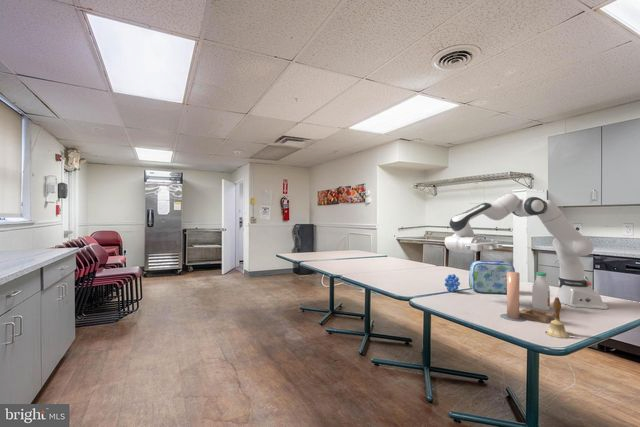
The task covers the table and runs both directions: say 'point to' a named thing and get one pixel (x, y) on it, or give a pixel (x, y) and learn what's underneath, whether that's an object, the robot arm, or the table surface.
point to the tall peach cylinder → (513, 295)
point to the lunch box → (489, 276)
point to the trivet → (513, 319)
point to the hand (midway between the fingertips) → (497, 247)
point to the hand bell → (557, 323)
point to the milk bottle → (541, 292)
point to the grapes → (452, 283)
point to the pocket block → (536, 315)
